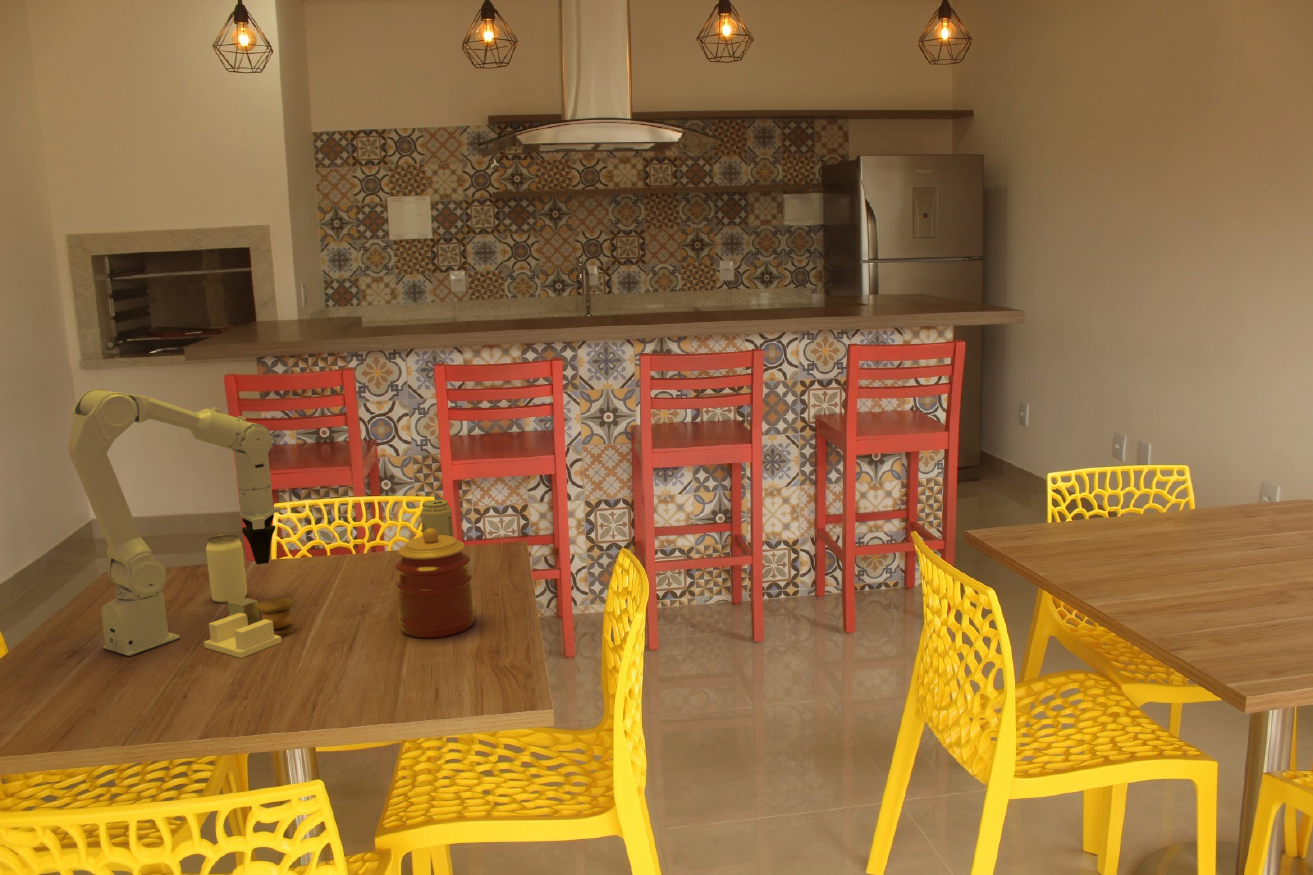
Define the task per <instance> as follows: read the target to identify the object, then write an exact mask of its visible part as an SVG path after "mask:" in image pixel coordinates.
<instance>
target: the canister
mask: <svg viewBox="0 0 1313 875" xmlns="http://www.w3.org/2000/svg"><path fill="white" fill-rule="evenodd" d="M465 548H466V546H465V543H464V542H462V541H461V540H459V539H456V537H454V536H453V537H452V536H447V535H438V532H437V531H436V530H435V529H433V528H429V529H426V530H425V531H424V533H423V532H422V536H418V537H415V538H412V539H410V540H408V541H407V542H406V544H404V545H403V546H401V547H400V548H399V549H398V552H397V553H398V555H399V556H400V558H399V559H397V560H396V561H395V563H394V569H395V570H396V571H397V572H398V573H397V574H398V578H397V580H396V581H395V582H396V583H395V586H396V588H397V598H398V610H399V614H398V620H399V621H398V622H399V625H400V628H401V631H402V633H404V634H405V635H407V636H410V637H415V638H423V639H425V638H426V639H427V638H428V639H431V638H432V639H433V638H434V639H435V638H442V637H443V638H444V637H448V636H452V635H455V634H456V635H457V634H459V633H461V632H464V631H466V630H468V629H469V628H470V627H472V625H473V624H474V618H475V614H476V613H475V607H474V602H473V601H474V600H473V589H472V588H473V587H472V579H473V575H472V573H471V572H470V571H469V563H470V562H471V559H472V558H471V556H470V554H468V553H467V552H465V551H464V549H465Z"/></svg>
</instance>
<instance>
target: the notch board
mask: <svg viewBox="0 0 1313 875" xmlns="http://www.w3.org/2000/svg"><path fill="white" fill-rule="evenodd" d="M208 626H209V637H210V639H208V640H205V641H203V645H204V648H205V649H209V650H212V651H216V652H219V653H222V654H225V655H228V656H229V655H230V656H232V657H236V658H239V659H242V658H245V657H247V656H250V655H252V654H255V653H258V652H260V651H262V650H265V649H268V648H270V647H272V646H275V645H278V644H281V643H282V637H281V636H277V635H274V630H273V621H270V620H266V619H264V620H262V619H261V620H260V621H259V622H256V623H254V624H251V625H248V620H247V614H243V613H237V614H235V615H232V616H229V615H228V616H226V617H224V618H220V619H217V620H216V621H213V622H209V623H208Z"/></svg>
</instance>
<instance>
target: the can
mask: <svg viewBox="0 0 1313 875" xmlns="http://www.w3.org/2000/svg"><path fill="white" fill-rule="evenodd" d="M239 537H240V536H239V535H238V534H235V533H233V534H231V533H230V534H229V533H227V534H219V535H215V536H212V537H209V538H208V539H207V544H206V547H205V552H206V553H205V554H206V562H207V569H208V577H209V580H208V581H209V587H210V594H211V595H210V596H211V600H213V602H214V603H220V604H224V603H225V604H228V601H231V600H234V599H237V598H240V597H245V598H246V596H247V594H248V586H247V577H246V569H245V561H244V552H243V543H242V542H241V540H240V539H239Z"/></svg>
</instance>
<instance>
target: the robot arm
mask: <svg viewBox="0 0 1313 875" xmlns="http://www.w3.org/2000/svg"><path fill="white" fill-rule="evenodd" d="M222 411H223V409H221V408H218V407H213V406H212V407H211V408H203V409H202V410H200V411H197V412H195V411H191V410H188V409H185V408H182V407H179V406H176V405H174V404H171V403H168V402H166V401H161V400H159V399H156V398H154V397H150V396H144V395H140V394H139V395H138V394H133V393H125V392H120V391H118V392H117V391H109V390H106V389H103V388H93V389H89V390H86V391H85V392H84V393H83V394H82V395H80V398H78V400H77V401H76V404H75V405H74V406H73V408H72V409H71V416H72V423H71V429H70V433H69V440H68V444H67V445H68V446H67V447H68V448H67V450H68V453H69V457H70V459H71V461H72V463H73V465H74V467H75V471H76V473H77V476H78V478H79V480H80V482H81V485H82V487H83V491H84V492H85V495H86V497H87V498H88V501H89V503H90V506H91V509H92V510H93V514H94V515H95V519H96V520H97V523H98V525H99V527H100V529H101V532H102V534H103V537H104V539H105V541H106V544H107V548H106V551H105V552H106V556H107V560H108V569H107V570H108V571H107V574H108V577H109V579H110V580H111V582H113V583H114V584H115V585H116V586H117V587H116V592H115V595H116V597H115V598H114V599H112V600H111V601H109V602H106V603H104V605H103V606H102V607H101V613H100V614H101V616H100V617H101V622H102V628H103V636H104V645H102V646H103V649H105V650H109V651H112V652H115V653H118V654H120V655H121V654H122V655H123V656H124V655H125V656H127V657H129V656H134V655H135V654H139V653H141V652H144V651H146V650H147V651H148V650H150V649H153V648H155V647H159V646H161V645H165V644H166V643H170V642H172V641H175V640H178V639H180V638H181V637H180V635H179V634H176V633H172V632H170V631H169V629H168V628H169V626H168V620H167V619H168V618H167V613H166V612H167V610H166V604H165V596H164V589H163V588H164V586H165V583H166V581H167V571H166V570H167V569H166V568H165V566H164V565H163V563H161V562H160V561H159V560H158V559H156V558H155V555H154V554H153V552H152V549H151V548H150V547H149V546H148V544H147V543H146V542H145V540H144V539H143V538H142V536H141V533H140V532H139V528H138V526H137V524H136V521H135V519H134V517H133V514H132V512H131V509H130V507H129V503H128V501H127V500H126V496H125V495H124V492H123V489H122V487H121V485H120V482H119V480H118V477H117V474H116V472H115V470H114V468H113V465H112V463H111V461H110V458H109V456H108V452H109V450H110V448H111V447H112V445H113V443H115V440H116V439H117V438H118V437H120V435H122V434H123V433H124V432H125V431H126V430H128V429H129V428H130V427H131V426H132V425H133V423H138V424H141V423H143V422H145V421H148V420H153V421H156V422H161V423H164V424H168V425H172V426H176V427H180V428H183V429H188V430H189V431H190V433H191V434H192V436H193V438H194V439H195V440H198V441H200V442H201V441H202V442H205V443H208V444H211V445H215V446H218V447H222V448H226V449H231V451H233V452H234V458H235V459H234V460H235V469H236V480H237V489H238V490H237V491H238V499H239V500H238V501H239V508H240V509H239V510H240V511H239V517H241V520H242V522H243V524H244V525H245V526H244V527H242V528H241V531H242V534H243V535H244V537H245V538H246V540H247V542H248V544H249V545H250V548H251V552H252V556H253V559H254V562H255V564H256V565H263V564H264V565H265V564H269V563H270V556H271V555H270V554H271V543H272V540H273V535H274V533H275V531H276V525H272V523H273V519H274V518H275V515H274V514H276V513H280V512H281V507H280V506H274V502H273V501H274V499H273V490H272V480H271V479H272V478H271V470H270V461H269V459H270V458H269V452H270V450H271V448H272V446H273V442H274V437H273V436H271V433H270V431H269V429H267V427H266V426H265V425H263V424H259V423H257V422H256V423H255V422H250V421H247V418H246V417H244V416H242V415H238V416H237V417H236V416H232V415H229V414H225V413H222Z"/></svg>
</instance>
